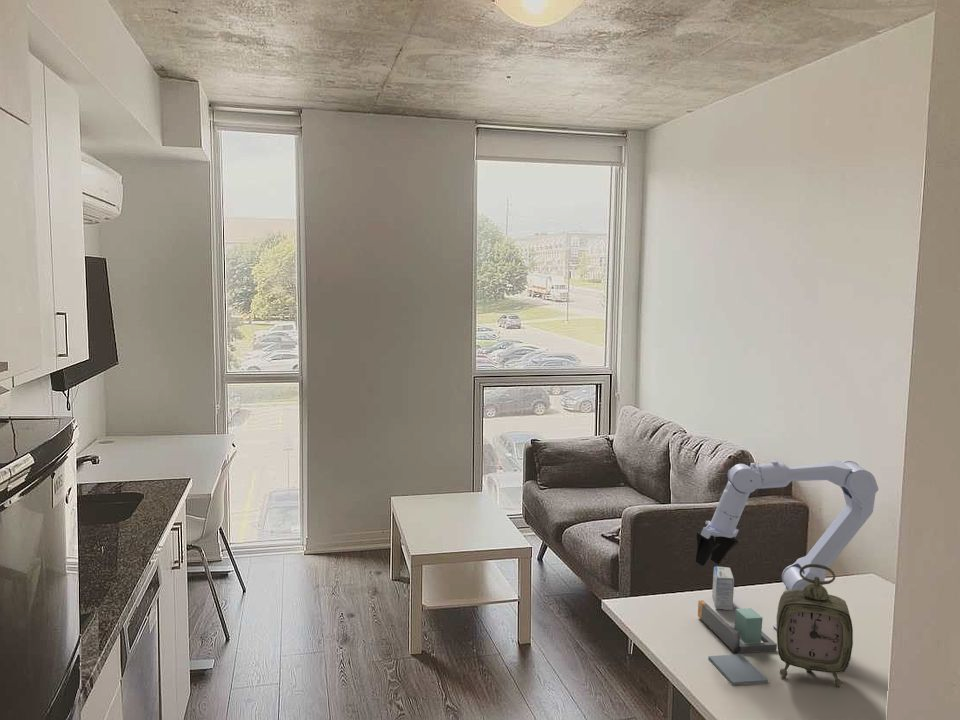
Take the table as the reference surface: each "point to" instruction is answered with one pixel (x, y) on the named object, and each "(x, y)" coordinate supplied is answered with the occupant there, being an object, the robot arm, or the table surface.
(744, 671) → the mat
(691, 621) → the table surface
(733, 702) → the table surface
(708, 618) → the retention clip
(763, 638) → the dock
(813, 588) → the tabletop clock
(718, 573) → the medicine box
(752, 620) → the plug
